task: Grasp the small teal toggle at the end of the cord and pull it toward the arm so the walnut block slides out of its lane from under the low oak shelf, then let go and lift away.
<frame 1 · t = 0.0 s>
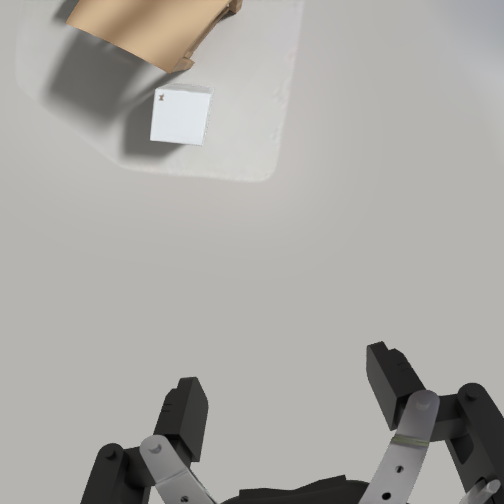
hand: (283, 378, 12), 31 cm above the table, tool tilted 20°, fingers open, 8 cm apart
product box: (188, 106, 33), on the table
shelf lane: (176, 15, 24), on the table
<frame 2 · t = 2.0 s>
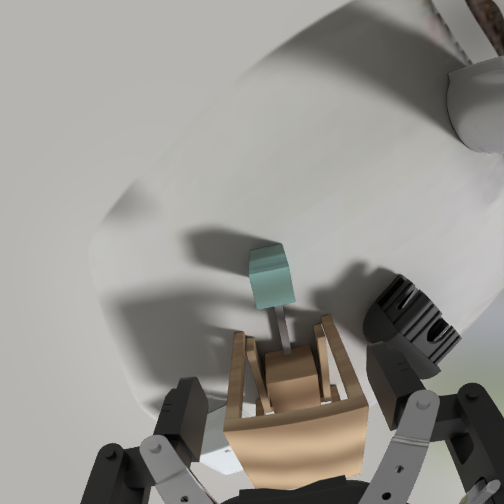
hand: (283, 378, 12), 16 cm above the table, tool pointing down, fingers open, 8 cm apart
product box: (230, 418, 35), on the table
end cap: (399, 316, 29), on the table
shelf lane: (290, 365, 31), on the table
corded block: (290, 365, 31), on the table
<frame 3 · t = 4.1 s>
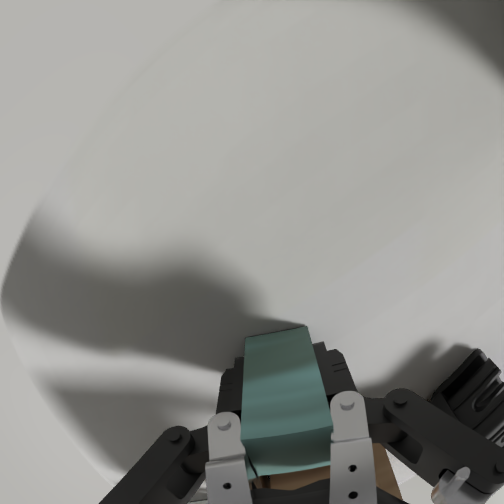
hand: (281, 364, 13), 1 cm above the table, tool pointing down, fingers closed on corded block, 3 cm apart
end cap: (460, 397, 16), on the table
shelf lane: (305, 469, 18), on the table
corded block: (305, 467, 18), on the table, touching gripper
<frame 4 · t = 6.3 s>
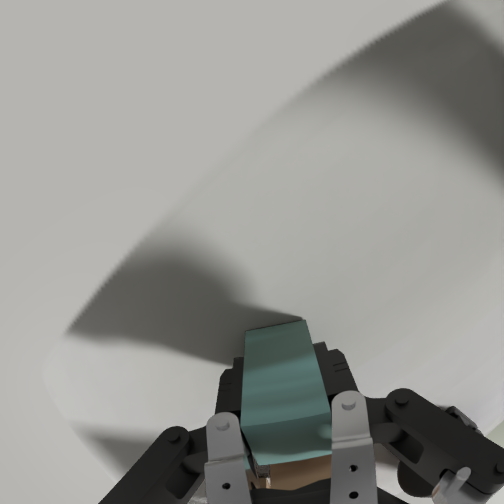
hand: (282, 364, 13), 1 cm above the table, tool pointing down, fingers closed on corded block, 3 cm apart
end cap: (437, 437, 19), on the table
corded block: (305, 463, 18), on the table, touching gripper
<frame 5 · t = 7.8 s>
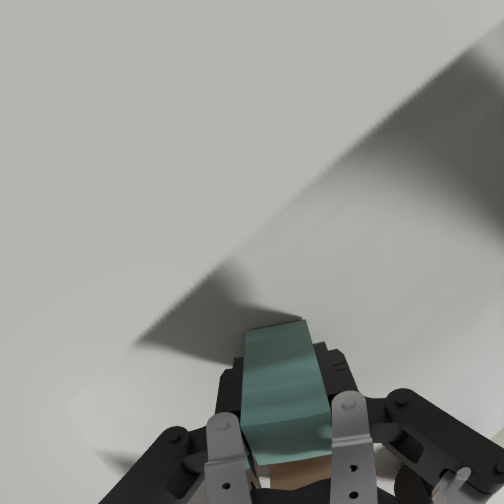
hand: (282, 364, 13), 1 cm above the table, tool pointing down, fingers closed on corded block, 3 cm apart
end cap: (431, 452, 20), on the table
corded block: (305, 463, 18), on the table, touching gripper
when the fingers open (1 cm above the table, at t = 8.4 s): corded block stays where it is, on the table.
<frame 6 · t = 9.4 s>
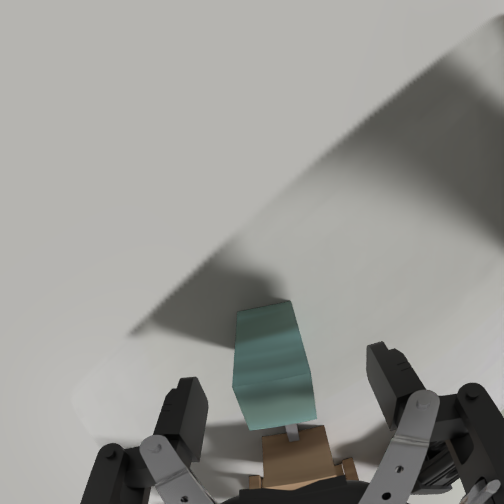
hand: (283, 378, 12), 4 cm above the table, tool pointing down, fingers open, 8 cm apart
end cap: (421, 441, 22), on the table
shelf lane: (305, 489, 23), on the table
corded block: (296, 446, 20), on the table
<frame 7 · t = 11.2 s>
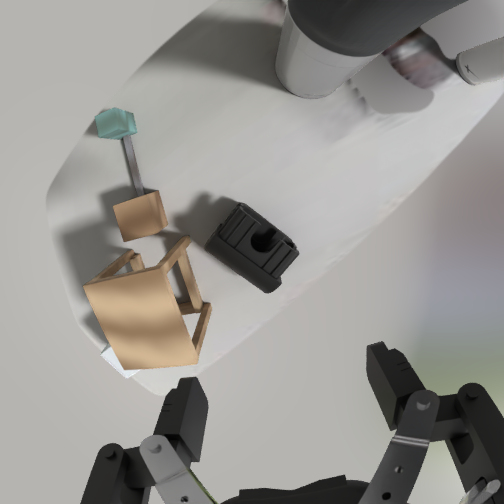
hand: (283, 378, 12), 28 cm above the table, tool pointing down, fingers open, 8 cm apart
product box: (138, 334, 45), on the table
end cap: (252, 240, 40), on the table
shelf lane: (169, 280, 42), on the table
travel mug: (467, 69, 30), on the table
corded block: (147, 212, 39), on the table
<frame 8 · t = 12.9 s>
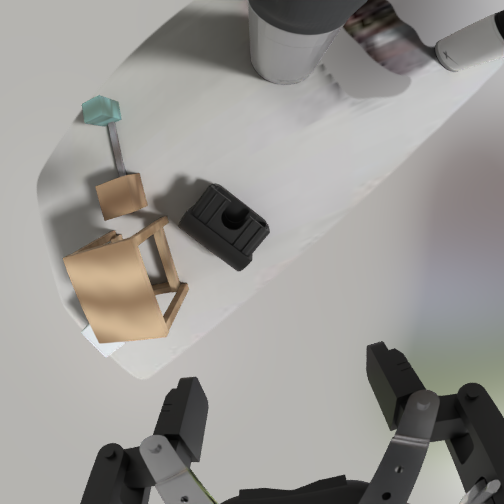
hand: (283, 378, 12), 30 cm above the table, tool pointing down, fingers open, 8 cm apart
product box: (119, 315, 46), on the table
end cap: (227, 221, 41), on the table
shelf lane: (148, 260, 43), on the table
travel mug: (447, 57, 31), on the table
corded block: (129, 194, 40), on the table
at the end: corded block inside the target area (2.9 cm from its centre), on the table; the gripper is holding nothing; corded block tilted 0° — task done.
